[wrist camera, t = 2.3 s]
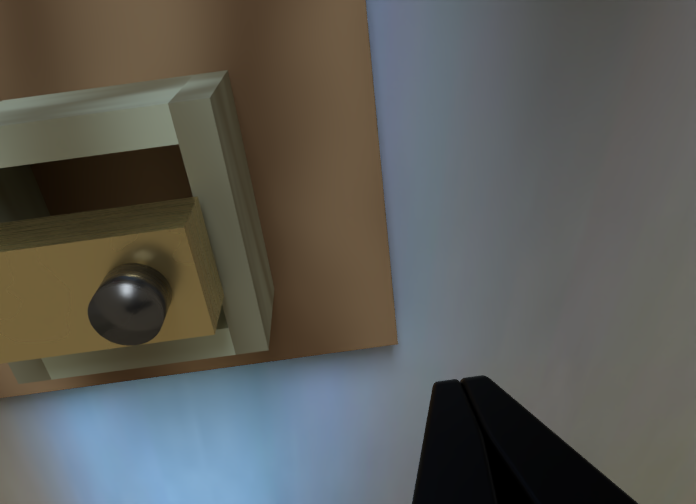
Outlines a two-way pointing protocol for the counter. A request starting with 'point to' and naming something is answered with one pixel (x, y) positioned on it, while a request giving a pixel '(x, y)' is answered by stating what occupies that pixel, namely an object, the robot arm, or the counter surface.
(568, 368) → the counter surface
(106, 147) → the dock
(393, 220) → the counter surface
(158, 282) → the lock bolt
